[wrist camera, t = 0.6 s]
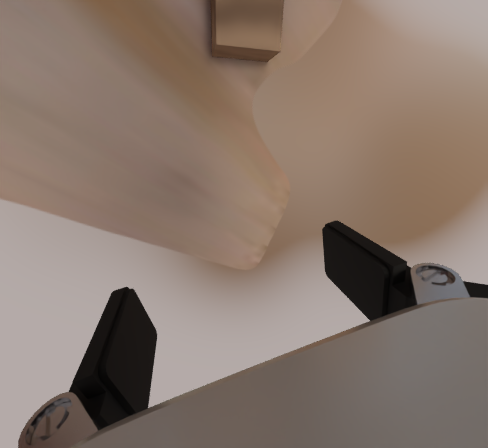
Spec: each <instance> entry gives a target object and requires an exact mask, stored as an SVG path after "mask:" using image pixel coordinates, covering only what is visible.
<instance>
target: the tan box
mask: <svg viewBox="0 0 488 448" xmlns="http://www.w3.org/2000/svg"><path fill="white" fill-rule="evenodd" d="M283 6H284V0H211V34H212V56H214V57H224V58H235V59H245V60H255V61H265V62H268V61H269V60H270V59H272V58H273V57H274V56H275V55H277V54H278V53H279V52H280V49H281V35H282V20H283Z"/></svg>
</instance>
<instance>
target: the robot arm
mask: <svg viewBox="0 0 488 448" xmlns="http://www.w3.org/2000/svg"><path fill="white" fill-rule="evenodd" d="M322 231H323V247H324V262H325V272H326V275H327V276H328V278H329V279H330V280H331V281H332V282H333V283H334V284H335V285H336V286H337V287H338V288H339V289H340V290H341V291H342V292H343V293H344V294H345V295H346V296H347V297H348V298H349V299H350V300H351V301H352V302H353V303H354V304H355V306H356V307H357V308H358V309H359V310H360V311H362V313H363V314H364V315H365V316H366V317H367V318H368V319H369V320H370V321H369V322H367V323H364V324H361V325H359V326H356V327H353V328H351V329H348V330H346V331H343V332H341V333H338V334H335V335H333V336H330V337H327V338H325V339H322V340H320V341H317V342H314V343H312V344H309V345H307V346H304V347H301V348H299V349H297V350H294V351H291V352H289V353H286V354H283V355H281V356H278V357H276V358H273V359H271V360H268V361H265V362H263V363H260V364H258V365H255V366H253V367H250V368H248V369H245V370H242V371H240V372H237V373H235V374H232V375H230V376H227V377H225V378H222V379H220V380H217V381H215V382H212V383H210V384H207V385H205V386H202V387H200V388H197V389H195V390H192V391H190V392H187V393H184V394H182V395H180V396H177V397H174V398H172V399H170V400H167V401H165V402H162V403H160V404H158V405H155V406H153V407H150V408H148V403H149V396H150V388H151V379H152V372H153V365H154V357H155V349H156V341H157V333H156V329H155V327H154V326H153V324H152V322H151V320H150V318H149V316H148V314H147V312H146V311H145V309H144V307H143V305H142V303H141V302H140V300H139V298H138V296H137V294H136V292H135V291H134V289H129V288H128V287H125V288H122V289H118V290H115V291H113V292H112V293H111V296H110V298H109V300H108V303H107V305H106V307H105V309H104V312H103V314H102V316H101V319H100V321H99V323H98V325H97V328H96V330H95V332H94V335H93V337H92V339H91V341H90V344H89V346H88V348H87V351H86V353H85V355H84V357H83V359H82V362H81V364H80V366H79V369H78V371H77V373H76V375H75V378H74V380H73V383H72V385H71V387H70V390H69V392H66V393H62V394H59V395H58V396H56V397H54V398H52V399H50V400H49V401H48V402H47V403H45V404H44V405H43V406H42V407H41V408H40V409H39V410H37V411H36V412H35V413H34V415H33V416H32V417H31V418H30V420H29V421H28V422H27V424H26V425H25V427H24V429H23V431H22V432H21V435H20V438H19V441H18V444H19V445H18V446H19V447H18V448H488V285H485V284H478V283H471V282H464V281H462V279H461V277H460V276H459V274H458V273H456V272H455V271H454V270H452V269H450V268H448V267H445V266H443V265H439V264H434V263H421V264H417V265H415V266H413V267H412V268H411V267H409V266H407V262H406V261H404V260H403V259H401V258H400V257H398V256H396V255H395V254H393V253H391V252H390V251H388V250H386V249H385V248H383V247H381V246H380V245H378V244H376V243H374V242H373V241H371V240H370V239H368V238H366V237H364V236H363V235H361V234H359V233H358V232H356V231H354V230H353V229H351V228H349V227H348V226H346V225H344V224H343V223H341V222H339V221H333V222H330V223H327V224H326V225H325V227H324V228H323V229H322Z"/></svg>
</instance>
